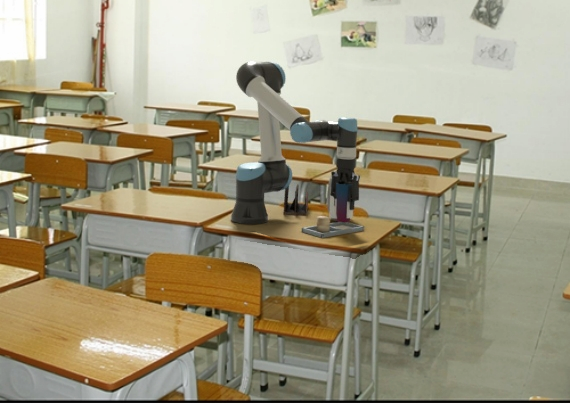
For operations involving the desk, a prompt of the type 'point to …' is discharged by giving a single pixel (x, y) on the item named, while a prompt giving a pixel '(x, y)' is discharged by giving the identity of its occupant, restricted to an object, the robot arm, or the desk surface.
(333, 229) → the gray divided tray
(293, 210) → the letter holder
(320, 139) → the robot arm
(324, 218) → the beech sleeve
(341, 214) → the cup
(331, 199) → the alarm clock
